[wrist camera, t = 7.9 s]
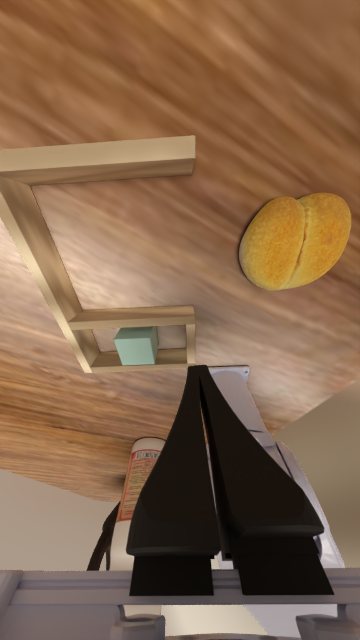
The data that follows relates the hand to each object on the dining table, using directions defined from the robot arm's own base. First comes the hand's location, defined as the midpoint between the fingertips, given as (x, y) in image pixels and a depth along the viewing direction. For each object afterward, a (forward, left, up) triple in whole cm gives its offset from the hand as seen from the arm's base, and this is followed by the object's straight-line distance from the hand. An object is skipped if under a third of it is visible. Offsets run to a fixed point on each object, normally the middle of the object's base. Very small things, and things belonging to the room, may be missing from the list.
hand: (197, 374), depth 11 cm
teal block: (-2, +7, -10) cm, 12 cm away
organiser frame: (+5, +7, -9) cm, 12 cm away
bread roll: (+8, -10, -10) cm, 16 cm away
